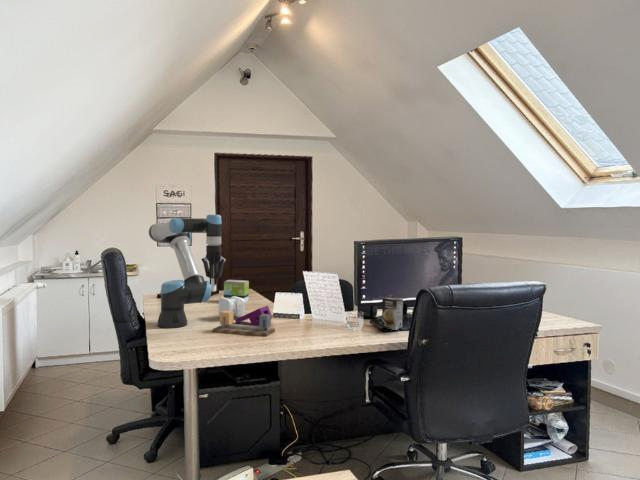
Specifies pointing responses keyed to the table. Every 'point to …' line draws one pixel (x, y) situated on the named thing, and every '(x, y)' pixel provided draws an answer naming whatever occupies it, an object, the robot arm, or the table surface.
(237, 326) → the rail and fixed leg
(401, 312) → the coffee box
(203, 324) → the table surface
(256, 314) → the mounting bracket
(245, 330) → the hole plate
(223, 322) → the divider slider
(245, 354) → the table surface
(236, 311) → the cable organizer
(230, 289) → the tea box
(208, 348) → the table surface
